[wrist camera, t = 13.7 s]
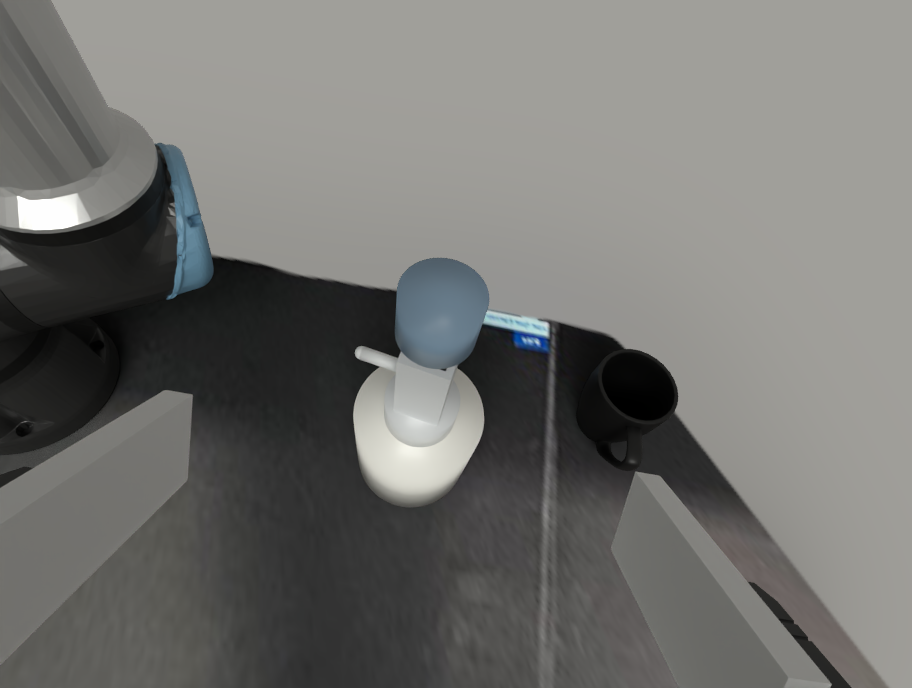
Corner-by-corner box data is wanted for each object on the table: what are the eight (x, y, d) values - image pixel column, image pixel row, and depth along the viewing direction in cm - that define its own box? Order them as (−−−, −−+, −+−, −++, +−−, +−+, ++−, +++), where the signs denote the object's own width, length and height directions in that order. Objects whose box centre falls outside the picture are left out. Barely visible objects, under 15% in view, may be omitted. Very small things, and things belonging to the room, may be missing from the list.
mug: (556, 477, 50) (590, 448, 42) (569, 379, 56) (601, 338, 48) (631, 498, 50) (679, 474, 42) (635, 398, 56) (678, 361, 48)
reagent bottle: (340, 485, 47) (314, 392, 28) (382, 390, 52) (384, 260, 34) (445, 523, 46) (492, 455, 27) (476, 423, 52) (531, 310, 33)
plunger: (381, 411, 35) (382, 314, 24) (404, 356, 38) (415, 246, 27) (444, 433, 35) (474, 345, 24) (463, 377, 38) (499, 274, 27)
